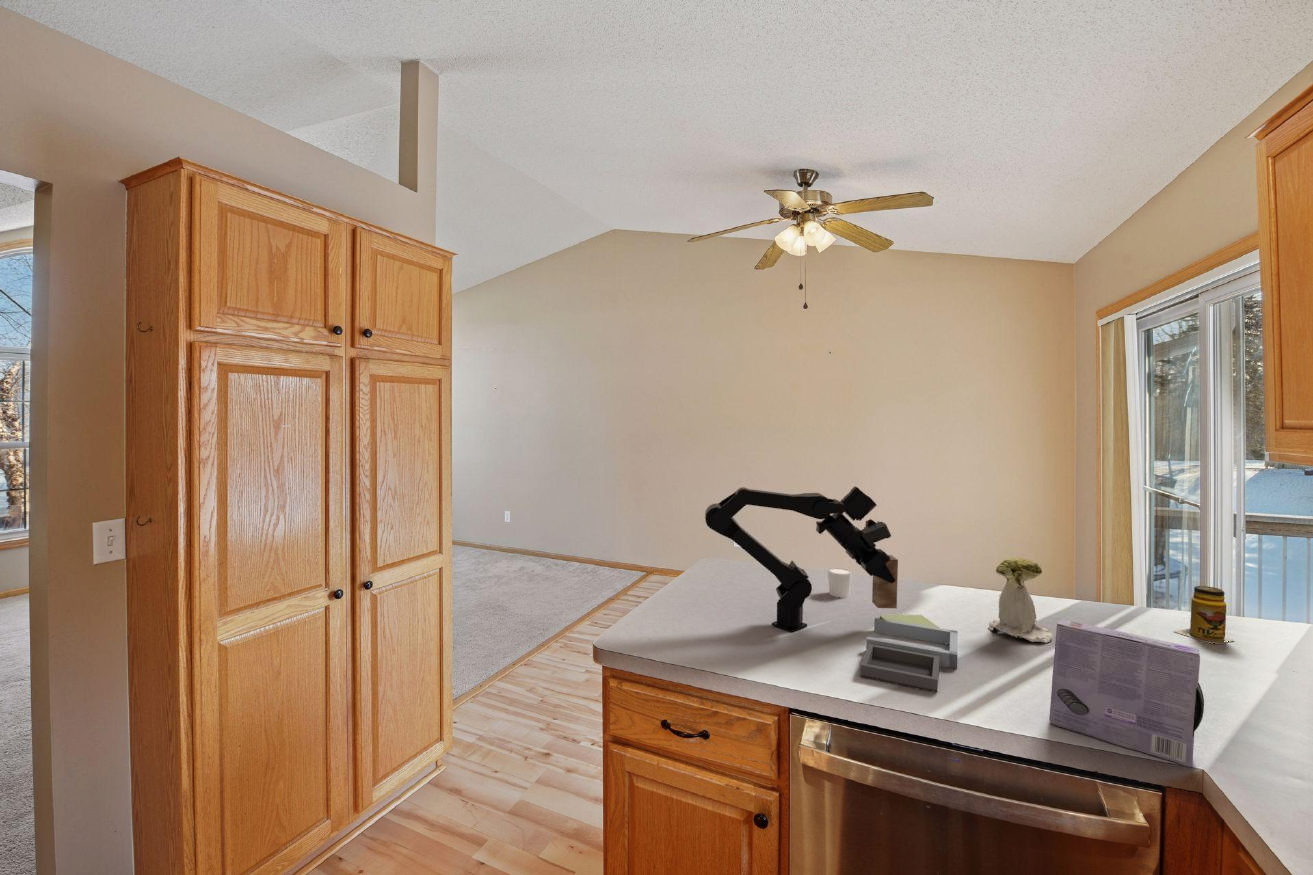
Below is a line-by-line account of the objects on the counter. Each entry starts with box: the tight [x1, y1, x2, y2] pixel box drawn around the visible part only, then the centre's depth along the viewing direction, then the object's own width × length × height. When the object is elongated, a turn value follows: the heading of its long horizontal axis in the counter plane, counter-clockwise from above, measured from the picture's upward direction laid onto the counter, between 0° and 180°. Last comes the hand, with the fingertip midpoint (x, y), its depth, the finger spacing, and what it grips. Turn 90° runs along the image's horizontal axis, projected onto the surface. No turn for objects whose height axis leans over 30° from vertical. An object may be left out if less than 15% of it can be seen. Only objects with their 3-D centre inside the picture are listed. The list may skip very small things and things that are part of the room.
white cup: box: [827, 567, 853, 599], centre depth 170 cm, size 7×7×7 cm
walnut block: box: [871, 554, 899, 609], centre depth 142 cm, size 4×4×12 cm
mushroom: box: [988, 557, 1053, 644], centre depth 139 cm, size 12×13×18 cm
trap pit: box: [859, 644, 940, 693], centre depth 119 cm, size 14×12×2 cm
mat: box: [879, 614, 940, 628], centre depth 146 cm, size 11×11×1 cm
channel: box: [865, 617, 959, 670], centre depth 131 cm, size 18×15×3 cm
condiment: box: [1172, 585, 1236, 645], centre depth 138 cm, size 7×8×12 cm
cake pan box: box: [1048, 618, 1205, 768], centre depth 94 cm, size 19×5×18 cm, turn 48°
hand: (890, 578), depth 142 cm, fingers closed on walnut block, 4 cm apart
